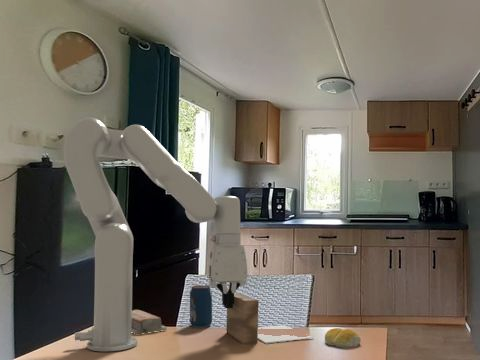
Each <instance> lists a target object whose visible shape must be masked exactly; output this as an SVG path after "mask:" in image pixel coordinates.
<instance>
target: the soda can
mask: <svg viewBox="0 0 480 360" xmlns="http://www.w3.org/2000/svg"><path fill="white" fill-rule="evenodd" d="M212 322H213V292H212V290H211V286H209V285H193V286H191V289H190V292H189V323H190V325H191V326H192V327H193V328H203V329H204V328H208V327H210V326H211V324H212Z"/></svg>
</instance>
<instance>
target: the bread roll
mask: <svg viewBox="0 0 480 360" xmlns="http://www.w3.org/2000/svg"><path fill="white" fill-rule="evenodd" d="M361 339H362V338H361V337H360V335H359V334H358V333H357V332H356V331H354V330H352V329H350V328H346V329H343V328H340V327H336V328H331V329H329V330H327V331H326V333H325V335H324V342H325V344H327V345H329V346H332V347H336V348H345V349H347V348H354V347H358V346H359V345H360V344H361Z"/></svg>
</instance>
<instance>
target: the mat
mask: <svg viewBox="0 0 480 360" xmlns="http://www.w3.org/2000/svg"><path fill="white" fill-rule="evenodd" d="M261 328H262V329H293V328H292V327H290V326H288V325H286V324H281V325H270V326H268V325H267V326H258V329H261ZM309 338H313V339H314V337H313V336H311V335H309V336H307V337H297V336H294V335H293V336H290V335H281V336H272V335H264V334H258V339H259V340H258V341H260V340H261V341H260V342H262V343H263V344H266V345H267V344H269V345H270V344H278V343H277V342H279V343H287V342H286V341H289V342H294V341H293V340H299V339H309ZM309 340H310V339H309ZM299 341H300V340H299Z"/></svg>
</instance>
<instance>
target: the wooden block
mask: <svg viewBox="0 0 480 360" xmlns="http://www.w3.org/2000/svg"><path fill="white" fill-rule="evenodd" d="M259 302H260V301H259V300H258V299H256V298H253V297H251V296H248V295H245V294H242V293H234V304H233V308H229V309H227V308H226V329H225V332H226V331H227V332H228V333H229V334H230V335H232V336H233V337H234V338H233V337H232V336H231V337H232V338H233V339H235V340H237V341H238V342H240V343H241V344H243V345H246V344H258V341H259V340H258V327H259ZM229 334H228V335H229ZM230 335H229V336H230Z"/></svg>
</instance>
